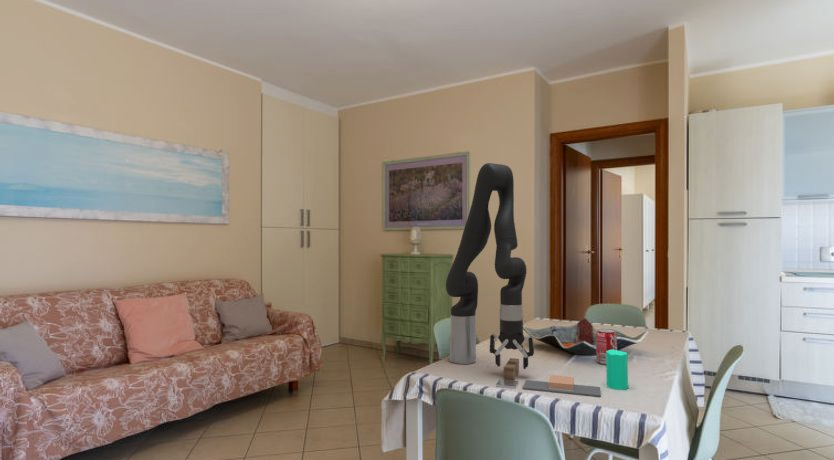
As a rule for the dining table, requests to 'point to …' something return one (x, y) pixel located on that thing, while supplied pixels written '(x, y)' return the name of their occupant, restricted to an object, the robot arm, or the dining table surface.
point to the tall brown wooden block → (509, 374)
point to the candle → (617, 369)
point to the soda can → (605, 343)
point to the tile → (561, 383)
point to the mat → (576, 391)
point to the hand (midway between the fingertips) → (511, 367)
